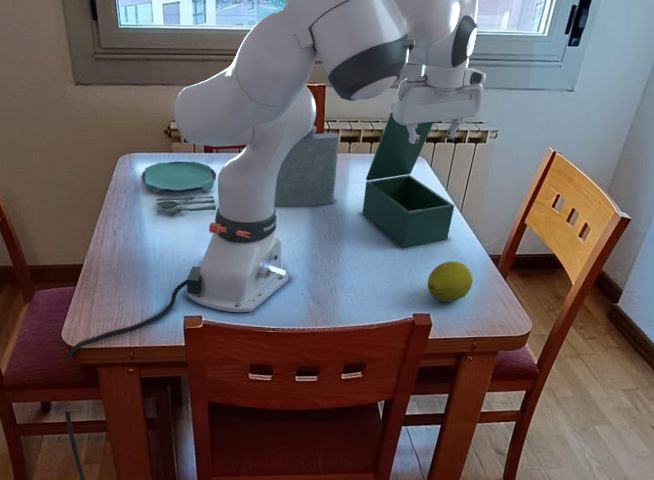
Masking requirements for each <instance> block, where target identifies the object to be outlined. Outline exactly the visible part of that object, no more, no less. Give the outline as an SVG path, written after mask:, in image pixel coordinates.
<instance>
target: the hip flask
mask: <svg viewBox="0 0 654 480" xmlns="http://www.w3.org/2000/svg"><path fill="white" fill-rule="evenodd" d="M317 129H318V128H317V126H316V125H314V124H313V126H312V128H311V130H310V131H309V133H308V134H307V135H306V136H304V137H303V138H302V139H300V140H299V141H298V142H297V143H296V144H295V145H294V146H293V147H292V148H291V149H290V151H289V152H288V154H287V155H286V157H285V158H284V160H283V162H282V164H281V166H280V168H279V172H278V175H277V180H276V188H275V202H274V206H276V207H308V206H309V207H310V206H320V205H326V204H332V203H334V200H335V189H336V179H337V178H336V177H337V167H338V158H339V157H338V155H339V147H340V146H339V145H340V134H339V133H338V132H326V133H325V132H324V133H316V132H317Z"/></svg>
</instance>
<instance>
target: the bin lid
mask: <svg viewBox="0 0 654 480" xmlns="http://www.w3.org/2000/svg"><path fill="white" fill-rule="evenodd" d="M395 102H396V101H394V102H392V103H391V105H390V109H391V112H390V114H389V117H388V119H387V122H386V125H385V127H384V129H383V132H382V135H381V138H380V141H379V143H378V145H377V148H376V151H375V154H374V157H373V158H372V161H371V164H370V166H369V170H368V171H367V174H366V177H365V180H366V181H373V180H380V179H386V178H393V177H399V176H406V175H411V173H412V172H413V169H414V167H415V165H416V162H417V161H418V158H419V156H420V154H421V151H422V149H423V147H424V145H425V143H426V141H427V138H428V137H429V134H430V132H431V130H432V127H433V125H434V123H435V122H427V123H418V127H417V128H415V131H416V134H418V135H420V139H419V143H415V144H412V143H410V142H409V135H410V134H409V132H408V129H407V127H406V125H401V124H399V123H397V122H396V121H395V120H394V118H393V110H394V106H395Z"/></svg>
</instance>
